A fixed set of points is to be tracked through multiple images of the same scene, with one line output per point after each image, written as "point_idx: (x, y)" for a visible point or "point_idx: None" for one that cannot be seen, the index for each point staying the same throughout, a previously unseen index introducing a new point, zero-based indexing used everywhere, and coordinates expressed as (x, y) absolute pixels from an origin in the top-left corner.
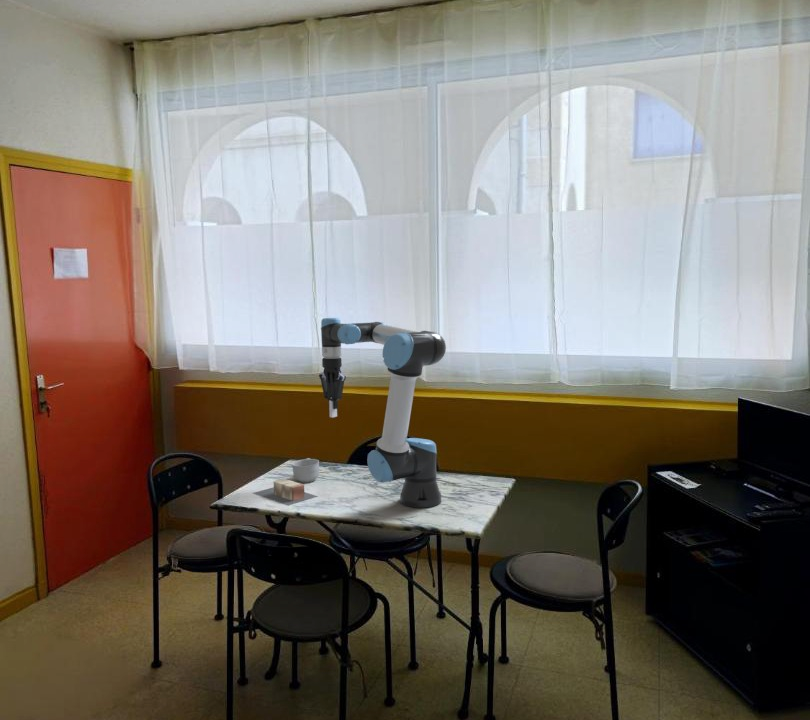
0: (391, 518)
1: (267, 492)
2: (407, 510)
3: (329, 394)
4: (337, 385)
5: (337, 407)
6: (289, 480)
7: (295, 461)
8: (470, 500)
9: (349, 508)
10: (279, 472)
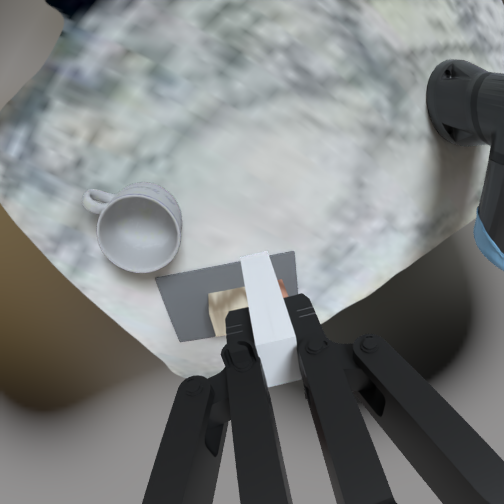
0: (469, 206)
1: (193, 321)
2: (468, 159)
3: (277, 434)
4: (435, 482)
5: (309, 301)
6: (232, 309)
7: (103, 251)
8: (496, 43)
9: (394, 233)
10: (44, 236)
